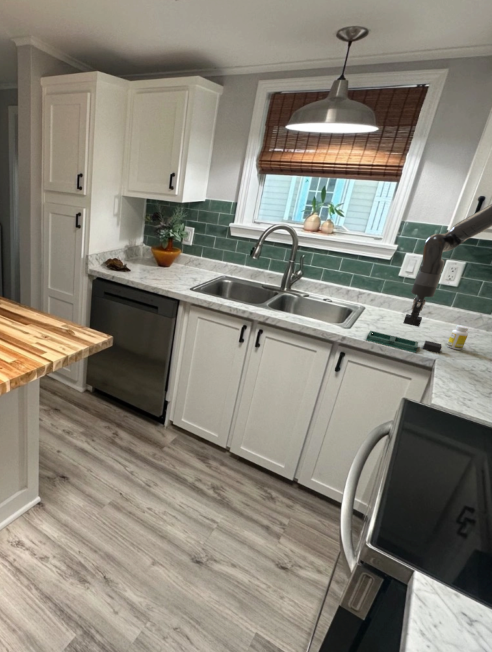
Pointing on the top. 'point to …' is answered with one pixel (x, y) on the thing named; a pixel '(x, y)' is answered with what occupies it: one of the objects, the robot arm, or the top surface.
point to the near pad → (407, 318)
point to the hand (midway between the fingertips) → (411, 322)
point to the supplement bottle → (458, 337)
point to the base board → (392, 341)
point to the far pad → (432, 346)
